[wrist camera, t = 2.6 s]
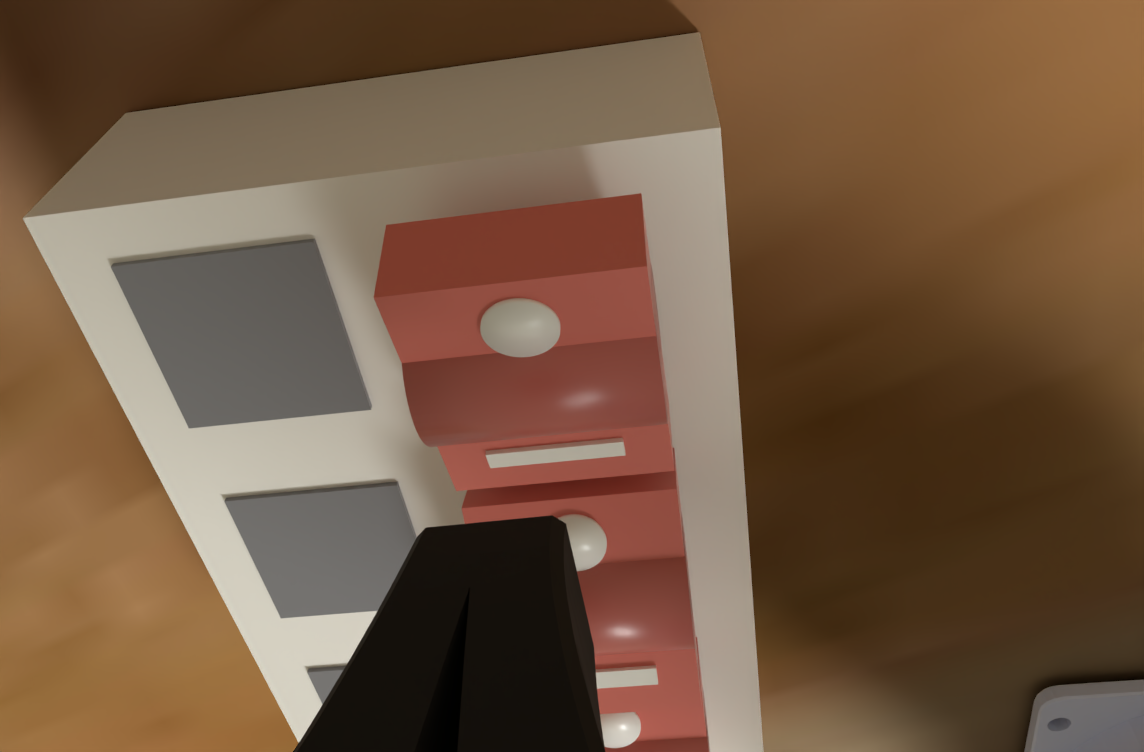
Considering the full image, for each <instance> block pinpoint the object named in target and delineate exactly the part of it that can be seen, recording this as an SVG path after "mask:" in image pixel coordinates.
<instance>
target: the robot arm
mask: <svg viewBox="0 0 1144 752" xmlns="http://www.w3.org/2000/svg"><path fill="white" fill-rule="evenodd" d="M293 752H605V746H604V740H603V733H602V726H601V718H600V710H599V702H598V694H597V683H596V669H595V654H594V645H593V640H592V636H591V631H590V627H589V623H588V618H587V614H586V609H585V605H584V601H583V596H582V592H581V587H580V583H579V579H578V574H577V570H576V565H575V561H574V557H573V552H572V548H571V543H570V539H569V535H568V530H567V526H566V523H564V522H563V521H561V520H559V519H558V518H556V517H554V516H553V515H550V516H540V517H530V518H519V519H509V520H499V521H488V522H478V523H468V524H457V525H447V526H437V527H426V528H425V529H424V530H423V531H422V532H421V533H420V534H419V535H418V536H417V538H416V540H415V542H414V544H413V546H412V547H411V549H410V551H409V553H408V555H407V557H406V559H405V561H404V563H403V565H402V567H401V568H400V570H399V572H398V574H397V576H396V578H395V580H394V582H393V583H392V585H391V587H390V589H389V591H388V593H387V595H386V596H385V598H384V600H383V602H382V604H381V605H380V607H379V609H378V611H377V613H376V614H375V616H374V618H373V620H372V622H371V623H370V625H369V627H368V629H367V630H366V632H365V634H364V636H363V637H362V639H361V641H360V643H359V644H358V646H357V648H356V650H355V651H354V653H353V655H352V657H351V658H350V660H349V662H348V663H347V665H346V667H345V668H344V670H343V672H342V673H341V675H340V677H339V678H338V680H337V682H336V683H335V685H334V686H333V688H332V690H331V691H330V693H329V695H328V696H327V698H326V700H325V701H324V703H323V705H322V706H321V708H320V710H319V711H318V713H317V715H316V716H315V718H314V719H313V721H312V723H311V724H310V726H309V728H308V729H307V731H306V732H305V734H304V736H303V737H302V739H301V740H300V742H299V743H298V745H297V747H296V748H295V750H294V751H293ZM1024 752H1144V679H1142V680H1127V681H1112V682H1097V683H1081V684H1066V685H1056V686H1050V687H1048V688H1046V689H1043V690H1042V691H1041V692H1040V693H1038V694H1037V696H1036V698H1035V700H1034V704H1033V709H1032V714H1031V720H1030V725H1029V730H1028V735H1027V740H1026V746H1025V751H1024Z"/></svg>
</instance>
